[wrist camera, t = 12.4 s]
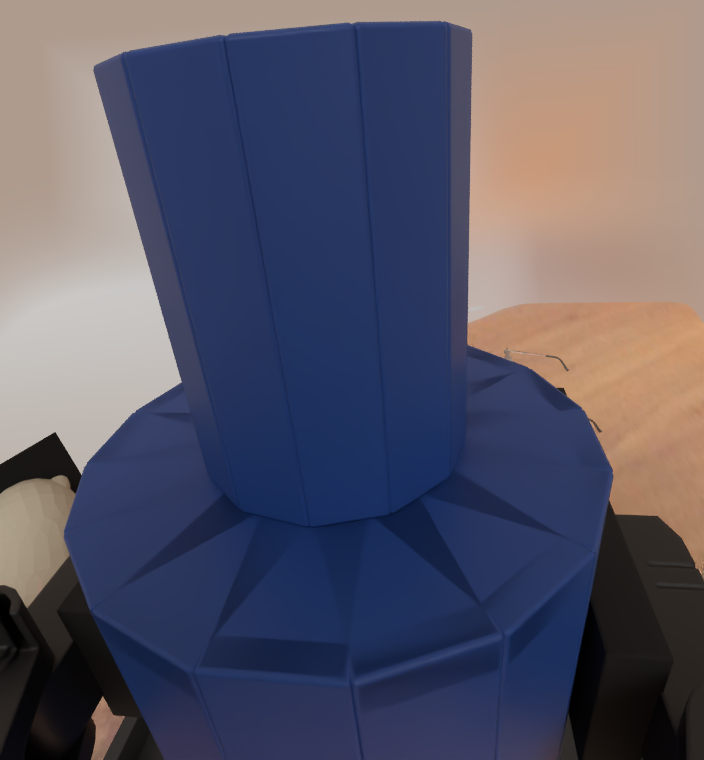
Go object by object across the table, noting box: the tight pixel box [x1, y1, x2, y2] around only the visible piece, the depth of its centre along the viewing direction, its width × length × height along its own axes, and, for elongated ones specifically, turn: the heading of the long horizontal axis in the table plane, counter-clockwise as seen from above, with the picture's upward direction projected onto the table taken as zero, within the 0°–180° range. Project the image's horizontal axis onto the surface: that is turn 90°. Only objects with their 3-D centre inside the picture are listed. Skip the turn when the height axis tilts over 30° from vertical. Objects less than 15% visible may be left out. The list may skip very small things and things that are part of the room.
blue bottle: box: [64, 21, 613, 760], centre depth 9 cm, size 7×7×16 cm
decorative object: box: [0, 433, 82, 608], centre depth 38 cm, size 13×10×10 cm
